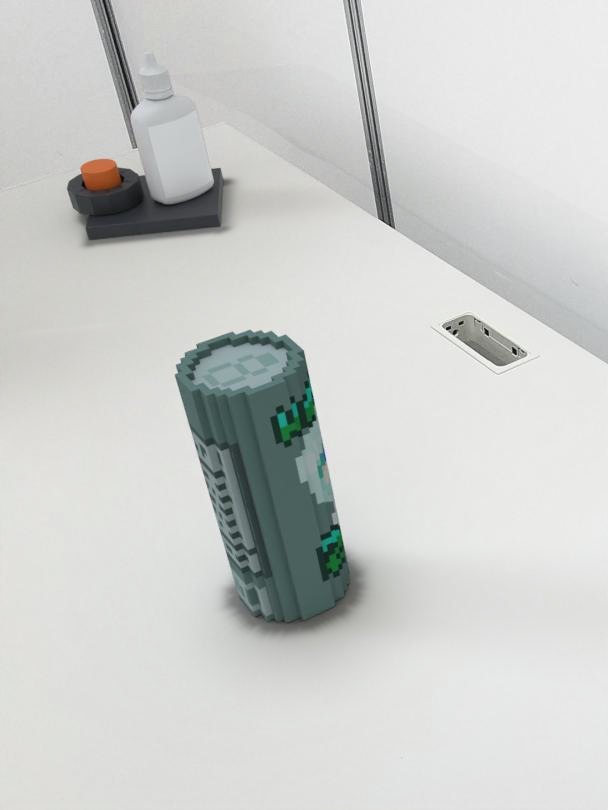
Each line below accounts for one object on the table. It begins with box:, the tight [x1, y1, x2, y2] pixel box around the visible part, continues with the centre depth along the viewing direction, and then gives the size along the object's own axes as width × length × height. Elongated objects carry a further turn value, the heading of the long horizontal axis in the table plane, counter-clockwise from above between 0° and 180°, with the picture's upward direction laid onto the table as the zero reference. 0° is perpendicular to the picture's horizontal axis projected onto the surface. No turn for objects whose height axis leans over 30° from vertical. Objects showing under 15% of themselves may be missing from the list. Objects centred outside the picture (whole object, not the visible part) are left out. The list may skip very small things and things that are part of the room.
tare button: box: [79, 158, 122, 190], centre depth 107 cm, size 3×3×2 cm
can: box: [174, 329, 351, 624], centre depth 67 cm, size 6×6×15 cm
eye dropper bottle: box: [130, 50, 214, 205], centre depth 105 cm, size 4×6×12 cm
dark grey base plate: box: [66, 166, 224, 241], centre depth 109 cm, size 12×10×3 cm
